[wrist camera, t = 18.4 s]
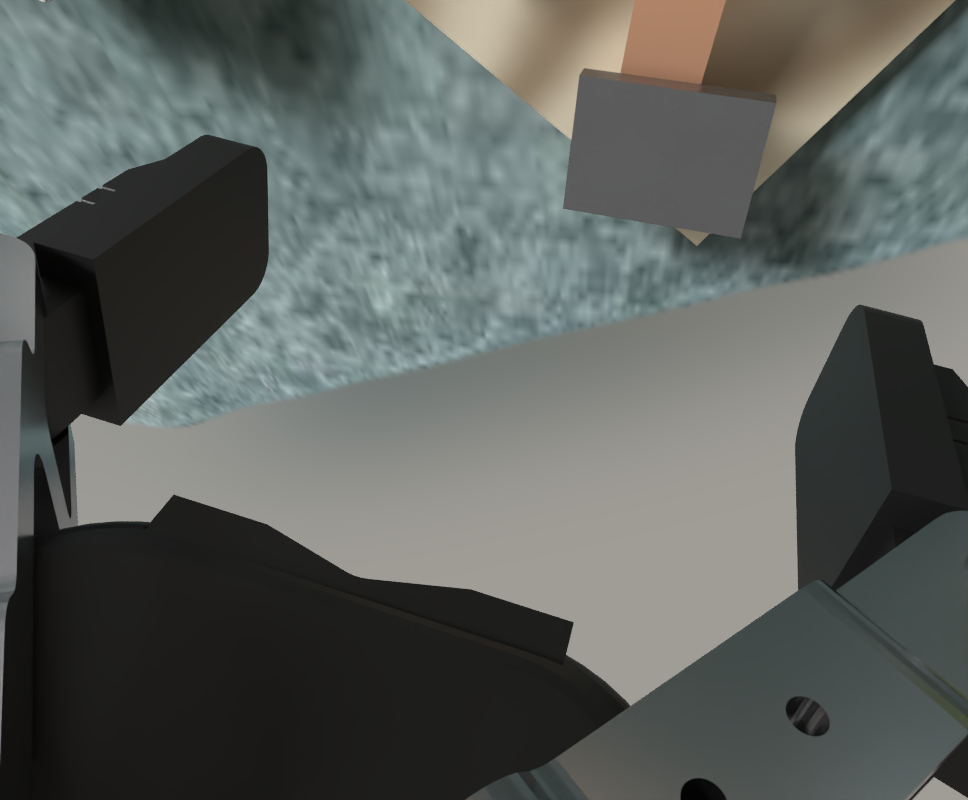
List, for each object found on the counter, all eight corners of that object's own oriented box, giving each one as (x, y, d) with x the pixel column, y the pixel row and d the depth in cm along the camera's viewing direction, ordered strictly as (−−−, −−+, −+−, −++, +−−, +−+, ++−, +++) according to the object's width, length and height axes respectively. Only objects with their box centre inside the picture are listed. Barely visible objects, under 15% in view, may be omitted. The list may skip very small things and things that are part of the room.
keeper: (603, 39, 35) (579, 75, 31) (776, 62, 34) (776, 103, 30) (586, 161, 38) (563, 208, 34) (745, 185, 37) (740, 238, 33)
